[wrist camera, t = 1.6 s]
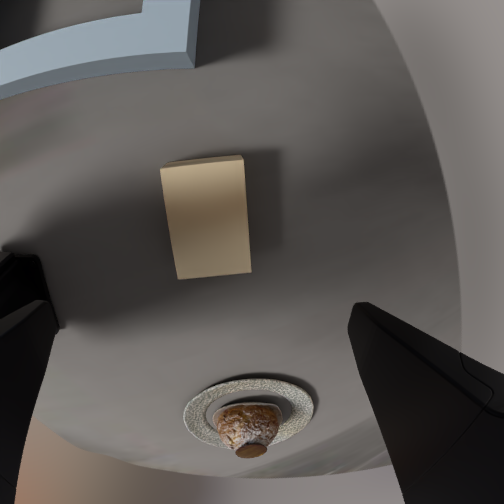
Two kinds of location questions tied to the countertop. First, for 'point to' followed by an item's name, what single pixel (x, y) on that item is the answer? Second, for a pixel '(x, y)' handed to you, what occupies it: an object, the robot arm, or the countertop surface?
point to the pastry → (248, 417)
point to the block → (207, 216)
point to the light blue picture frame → (104, 48)
